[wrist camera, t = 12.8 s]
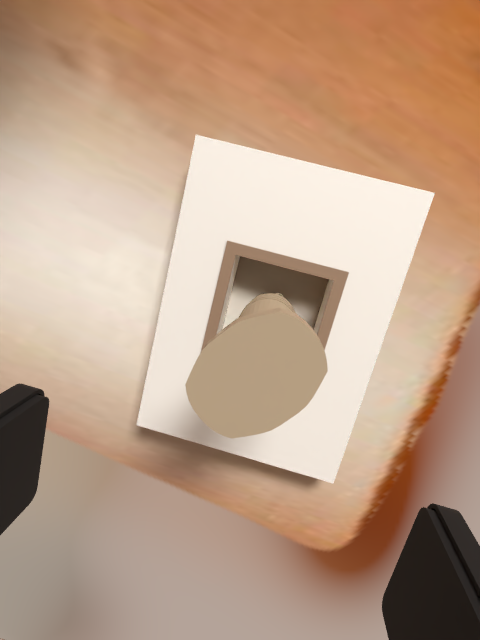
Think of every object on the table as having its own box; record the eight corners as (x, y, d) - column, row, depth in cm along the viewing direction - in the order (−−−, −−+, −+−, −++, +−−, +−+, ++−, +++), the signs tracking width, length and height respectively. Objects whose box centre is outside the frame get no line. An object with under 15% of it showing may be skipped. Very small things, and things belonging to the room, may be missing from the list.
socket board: (205, 143, 30) (195, 133, 27) (420, 196, 29) (435, 192, 26) (149, 409, 36) (135, 426, 33) (330, 462, 35) (333, 485, 32)
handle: (323, 310, 32) (349, 378, 17) (258, 358, 33) (233, 457, 19) (284, 261, 32) (278, 289, 17) (220, 311, 33) (165, 377, 18)
